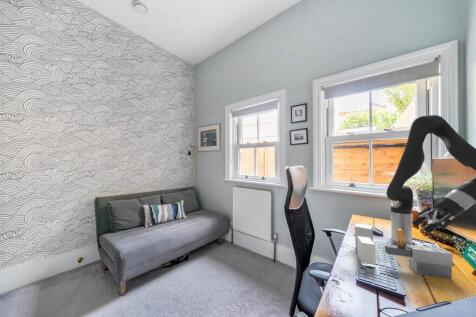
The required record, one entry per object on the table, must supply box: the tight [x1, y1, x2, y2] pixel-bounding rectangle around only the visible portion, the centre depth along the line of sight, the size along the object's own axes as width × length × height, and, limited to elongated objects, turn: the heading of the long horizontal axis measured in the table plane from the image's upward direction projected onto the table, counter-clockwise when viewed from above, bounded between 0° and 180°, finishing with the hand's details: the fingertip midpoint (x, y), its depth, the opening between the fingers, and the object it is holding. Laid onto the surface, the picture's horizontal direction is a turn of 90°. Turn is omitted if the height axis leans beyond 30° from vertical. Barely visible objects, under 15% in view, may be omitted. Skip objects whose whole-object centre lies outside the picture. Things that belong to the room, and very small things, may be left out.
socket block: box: [357, 236, 377, 266], centre depth 85 cm, size 8×5×10 cm, turn 160°
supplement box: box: [354, 223, 374, 251], centre depth 98 cm, size 7×7×13 cm
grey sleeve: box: [405, 244, 454, 280], centre depth 77 cm, size 6×13×10 cm, turn 70°
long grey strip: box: [384, 229, 412, 258], centre depth 79 cm, size 3×20×11 cm, turn 70°
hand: (419, 227), depth 78 cm, fingers open, 8 cm apart
